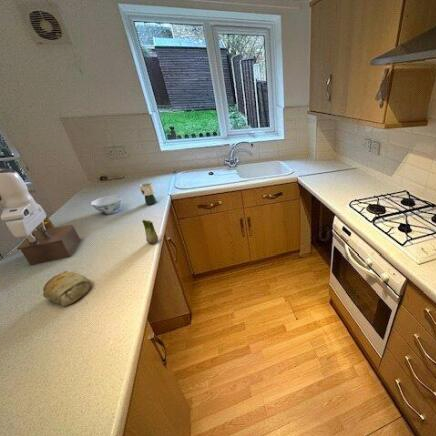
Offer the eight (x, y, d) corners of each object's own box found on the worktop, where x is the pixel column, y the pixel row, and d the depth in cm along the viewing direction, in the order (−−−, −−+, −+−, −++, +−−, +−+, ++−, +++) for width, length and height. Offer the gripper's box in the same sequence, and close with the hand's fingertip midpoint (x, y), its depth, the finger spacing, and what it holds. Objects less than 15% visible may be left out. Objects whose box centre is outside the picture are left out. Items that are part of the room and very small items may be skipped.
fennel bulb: (160, 242, 115) (153, 220, 110) (149, 246, 113) (141, 224, 107) (157, 238, 119) (150, 216, 114) (146, 241, 116) (138, 219, 111)
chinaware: (118, 204, 156) (114, 193, 153) (129, 210, 149) (125, 198, 145) (92, 213, 145) (86, 201, 142) (102, 219, 138) (97, 207, 134)
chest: (30, 265, 101) (20, 249, 98) (45, 246, 114) (36, 232, 110) (70, 256, 106) (62, 241, 103) (80, 239, 119) (73, 225, 115)
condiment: (40, 243, 116) (27, 221, 111) (44, 235, 123) (32, 214, 117) (59, 238, 120) (47, 217, 114) (63, 231, 126) (52, 211, 121)
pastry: (56, 286, 90) (46, 269, 86) (96, 276, 94) (88, 260, 91) (39, 313, 79) (26, 296, 75) (85, 301, 83) (75, 284, 79)
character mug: (144, 202, 160) (138, 183, 154) (155, 199, 163) (150, 181, 157) (146, 207, 152) (140, 188, 146) (159, 204, 156) (153, 185, 150)
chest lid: (17, 250, 97) (11, 240, 95) (34, 232, 110) (29, 224, 108) (62, 241, 103) (57, 233, 101) (73, 225, 115) (69, 217, 113)
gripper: (23, 199, 106) (39, 227, 112) (-3, 219, 89) (17, 249, 95) (42, 197, 108) (56, 224, 114) (20, 215, 91) (38, 245, 98)
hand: (38, 236), depth 105 cm, fingers open, 8 cm apart
